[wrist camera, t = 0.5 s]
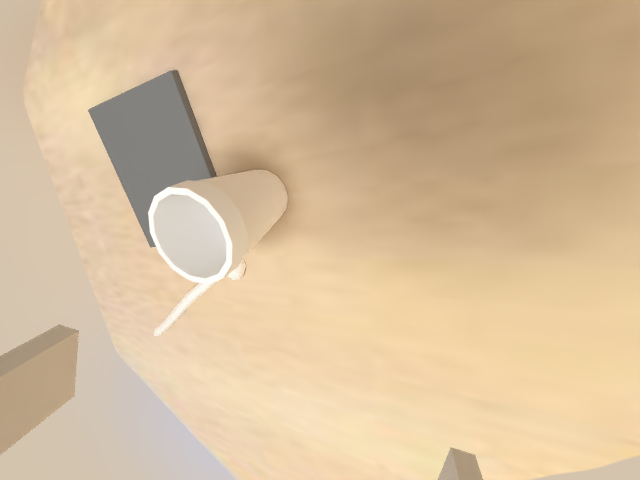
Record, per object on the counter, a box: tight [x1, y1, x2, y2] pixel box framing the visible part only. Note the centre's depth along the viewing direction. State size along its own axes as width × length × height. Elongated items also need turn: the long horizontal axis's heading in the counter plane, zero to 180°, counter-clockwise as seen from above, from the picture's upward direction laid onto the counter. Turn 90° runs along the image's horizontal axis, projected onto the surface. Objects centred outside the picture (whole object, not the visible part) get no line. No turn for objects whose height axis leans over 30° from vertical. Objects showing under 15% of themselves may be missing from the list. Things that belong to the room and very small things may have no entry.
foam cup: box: [148, 170, 288, 284], centre depth 38 cm, size 10×9×13 cm
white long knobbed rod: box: [154, 259, 246, 336], centre depth 56 cm, size 28×4×3 cm, turn 136°
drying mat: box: [88, 71, 217, 247], centre depth 48 cm, size 20×16×1 cm
